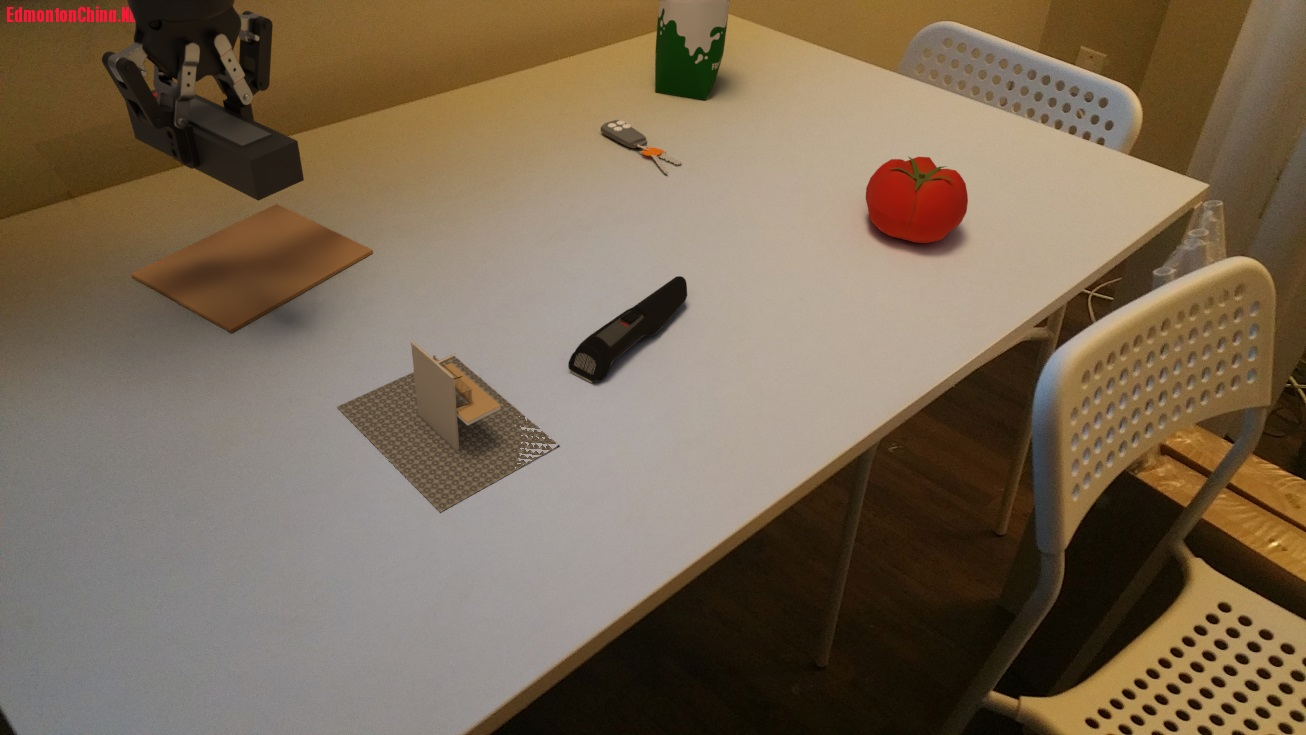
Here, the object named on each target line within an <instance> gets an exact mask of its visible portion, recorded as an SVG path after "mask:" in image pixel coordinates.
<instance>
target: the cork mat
mask: <svg viewBox="0 0 1306 735" xmlns="http://www.w3.org/2000/svg"><path fill="white" fill-rule="evenodd" d="M372 254H374V249H372V248H370V247H368V246H365V245H364V244H361V243H359V242H358V241H355V240H353V239H351V238H349V237H347V236H345V235H343V234H341V233H338V232H336V231H335V230H332V229H330V228H328V227H326V226H324V225H322V224H320V223H317V222H316V221H313V220H312V219H309V218H307V217H305V216H303V215H301V214H299V213H297V212H294V211H292V210H290V209H288V208H286V207H284V206H282V205H280V204H277V203H276V204H274V205H272V206H271V205H270V206H269V207H267V208H265V209H263V210H261V211H258V212H257V213H255V214H253V215H251V216H248V217H246V218H244V219H242V220H240V221H238V222H236V223H234V224H232V225H229V226H227V227H225V228H223V229H221V230H218V231H217V232H215V233H213V234H211V235H208V236H206V237H204V238H202V239H200V240H198V241H196V242H194V243H192V244H190V245H188V246H186V247H184V248H181V249H180V250H177V251H175V252H172V253H171V254H168V255H167V256H164V257H162V258H160V259H158V260H157V261H154V262H152V263H150V264H148V265H145V266H144V267H141V268H139V269H137V270H135V271H133V272H131V273H130V276H131V278H133V279H135V280H137V281H138V282H140V283H142V284H143V285H145V286H148V287H149V288H150V289H153V290H154V291H156V292H157V293H160V294H161V295H162V296H165V297H167V298H168V299H169V300H172V301H174V302H175V303H177V304H178V305H180V306H182V307H184V308H186V309H188V310H190V311H192V312H193V313H195V314H197V315H198V316H200V317H202V318H203V319H205V320H207V321H209V322H210V323H213V324H214V325H216V326H218V327H219V328H222V329H223V330H225V331H226V332H228V333H230V334H233V333H234V332H236V331H238V330H240V329H241V328H243V327H245V326H247V325H248V324H251V323H252V322H254V321H255V320H257V319H259V318H261V317H263V316H264V315H266V314H268V313H270V312H271V311H273V310H275V309H277V308H278V307H281V306H283V304H286V303H288V302H290V301H291V300H293V299H295V298H296V297H298V296H301V295H302V294H303V293H305V292H307V291H309V290H311V289H312V288H314V287H316V286H317V285H319V284H321V283H323V282H325V281H326V280H328V279H330V278H333V276H335V275H337V274H338V273H340V272H342V271H343V270H346V269H348V268H350V267H351V266H353V265H354V264H356V263H358V262H360V261H362V260H363V259H365V258H367V257H369V256H370V255H372Z"/></svg>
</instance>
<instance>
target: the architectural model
mask: <svg viewBox="0 0 1306 735" xmlns="http://www.w3.org/2000/svg"><path fill="white" fill-rule="evenodd" d="M410 346H411V356H412V365H413V372H409V373H408V374H406V375H404V376H401V377H399V378H397V379H395V380H393V381H390V382H389V383H386V384H384V385H382V386H380V387H377V388H375V389H372V390H370V391H368V392H366V393H364V394H362V395H360V396H357V397H355V398H353V399H351V400H348V401H346V402H344V403H342V404H339V405H338V406H336V409H338V410H339V411H340V412H341V413H342V415H344V416H345V417H346V418H347V420H349V421H350V422H351V423H352V425H353V426H354V427H355V428H357V430H358V431H360V433H362V434H363V436H364V437H365V438H366V439H368V441H369V442H370V443H371V444H372V445H373V446H374V447H375V448H376V449H377V450H378V451H379V452H380V453H381V454H382V455H383V456H384V457H385V459H387V460H388V461H389V462H390V463H391V464H392V465H393V466H394V467H395V468H396V469H397V470H398V471H399V472H400V473H401V475H403V476H404V477H405V478H406V479H407V480H408V481H409V483H410V484H412V485H413V487H414V488H416V489H417V490H418V492H420V494H422V496H424V497H425V498H426V500H427V501H428V502H429V503H431V504H432V505H433V507H434V508H435V509H436V510H437V511H438V512H439V513H442V512H444V511H446V510H447V509H450V508H451V507H453V506H455V505H456V504H458V503H460V502H462V501H463V500H465V499H467V498H469V497H471V496H473V495H474V494H476V493H478V492H479V491H481V490H483V489H486V488H488V486H490V485H492V484H494V483H496V482H498V481H499V480H501V479H503V478H505V477H506V476H508V475H511V474H513V473H514V472H516V471H517V470H519V469H521V468H523V467H524V466H523V464H526V465H528V464H530V463H531V462H530V461H528V462H527V463H526V462H525V461H524V460H521V461H519V459H518V458H520V459H530V460H534V461H535V460H537V459H538V458H537V457H534V458H532V457H531V456H529V457H528V458H527V457H526V456H525V455H521V456H520V454H519V453H522V454H532V455H543V456H544V455H546V454H549V453H550V452H549V451H548V452H547V453H546V454H545V453H544V452H543V451H542V452H541V453H540V454H539V453H538V452H537V451H535V452H534V453H533V452H532V451H531V450H529V451H528V452H527V451H526V450H525V448H527V449H542V450H552V451H554V450H556V449H557V448H558V447H555V448H553V449H552V448H551V447H550V446H549V445H548V444H556V443H557V442H556V441H555V440H554V439H552V438H551V439H549V438H548V437H550V436H549V435H547V433H546V432H544V431H543V430H542V431H541V432H538V431H537V430H534V432H533V431H532V430H531V429H530V430H529V431H527V429H525V430H522V429H521V427H526V428H535V429H540V427H539V426H537V425H536V424H535V423H534V422H533V423H532V420H530V419H529V418H528V417H527V421H526V419H525V417H526V415H524V414H523V413H522V412H521V411H520V410H519V409H517V407H515V406H514V405H513V404H512V403H510V402H509V401H508V400H507V399H506V398H504V397H503V396H502V395H501V394H500V393H499V392H498V391H497V390H495V389H494V388H493V387H492V386H491V385H489V384H488V383H487V382H486V381H485V380H484V379H482V378H481V377H480V376H479V375H478V374H476V373H475V371H473V370H472V369H470V368H469V367H468V366H467V365H466V364H464V362H463V361H461V360H460V359H459V358H457V353H452V354H450V355H448V356H445V357H443V358H441V359H439V358H437V357H436V355H435V354H433V355H432V356H431V355H430V354H429V353H428V352H426V351H425V350H424V349H423V348H422V347H421V346H420V345H418V344H417V343H416V342H415V341H414V340H413V341H411V342H410ZM519 416H520V417H519ZM515 425H516V426H515ZM520 426H521V427H520ZM521 435H523V436H521ZM525 435H527V436H528V438H527V437H526V436H525ZM531 436H533V438H532V437H531ZM536 436H537V437H539V439H538V438H537V437H536ZM542 437H545V439H543V438H542ZM521 442H523V443H522V444H521ZM525 442H528V443H529V445H528V446H527V444H526V443H525ZM531 443H535V445H534V447H533V445H532V444H531ZM536 443H542V444H547V446H546V448H545V447H544V446H543V445H542V446H541V447H540V448H539V446H538V445H537V444H536ZM520 448H524V449H522V450H521V449H520ZM517 463H521V464H517ZM515 467H516V468H515Z"/></svg>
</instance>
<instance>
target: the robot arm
mask: <svg viewBox="0 0 1306 735" xmlns="http://www.w3.org/2000/svg"><path fill="white" fill-rule="evenodd" d="M126 1H127V5H128V8H129V10H130V12H131V14H132V17H133V19H134V23H135V29H134V30H135V31H134V34H133V43H132V44H130V45H129V46H127V47H125V48H124V49H122V50H121V51H119V52H118V53H115V52H113V51H106V52H104V53H103V55H102V56H101V63H102V65H103V66H104V68H105V69H106V72H107V74H108V75H109V76H110V78H111V80H112V81H113V83H114V84H115V87H116V88H117V90H118V92H119V93H120V94H121V96H122V98H123V100H124V102H125V101H126V102H125V104H126V103H127V105H128V106H129V108H130V110H131V111H132V113H133V115H134V116H135V118H137V119H139V120H141V121H144V122H146V123H148V124H150V125H151V126H153V127H155V128H157V129H161V128H164V132H165V136H166V140H167V143H168V147H169V151H170V155H171V156H172V157H171V156H170V157H171V158H172V159H173V160H174V161H177V162H179V163H180V164H181V165H183V166H185V167H186V168H188V169H191V170H193V169H194V170H195V168H196V167H198V166H200V160H199V156H198V152H197V148H196V143H195V139H194V135H193V133H194V132H193V127H192V126H191V125H189V124H188V122H189V108H190V101H191V100H192V99H193V98H194V96H195V94H196V83H197V82H199V81H201V80H202V79H204V78H205V77H208V76H209V77H210V76H211V77H212V78H213V79H214V81H215V82H216V84H217V86H218V88H219V89H220V91H221V93H222V94H223V96H224V97H226V98H225V99H222V104H223V107H225V108H227V109H229V110H232V111H234V112H236V113H238V114H240V115H242V116H245V117H247V118H249V119H251V120H253V121H255V116H254V113H253V107H252V102H253V100H254V96H255V95H256V94H258V93H259V92H260V91H261V92H265V91H267V90H268V89H269V87H270V81H271V80H270V79H271V65H272V64H271V62H272V42H273V29H274V28H273V27H274V26H273V22H272V20H271V19H270V18H268V17H265V16H263V15H260V14H258V13H255V12H253V11H250V10H245V11H243V12H242V14H239V13H238V12H237V11H236V9H235V7H234V5H235V1H236V0H126ZM238 38H239V55H238V58H237V57H236V55H235V52H234V49H235V46H236V43H237V41H238ZM146 59H147V60H148V61H150V63H152V64H153V80H152V83H153V88H154V90H155V89H156V91H157V99H155V97H154V95H153V93H152V92H151V91H152V89H151V88H150V86H149V85H148V83H147V81H146V80H145V78H146V77H147V76H148V72H147V70H146V69H147V68H146V66H145V62H146ZM174 80H176V82H175V81H174Z"/></svg>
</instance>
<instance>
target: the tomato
mask: <svg viewBox="0 0 1306 735" xmlns="http://www.w3.org/2000/svg"><path fill="white" fill-rule="evenodd" d="M947 167H948V166H947V165H946V166H944V165H943V166H937V165H936V164H935V162H934V161H933V160H932V159H931V157H930V156H915V157H913V158H911V157H910V156H908V159H907V160H905V159H902V158H890V159H889V160H888V161H886V162H884V163H883V164H881V165H880V166H879V167H878V168H877V169H876V170H875V172H873V174H872V175H871V177H870V178H869V180H868V182H867V185H866V188H865V202H866V206H867V212H868V216H869V220H870V222H871V223H872V224H873V225H874V226H875V227H876V228H877V229H878V230H879V231H881V232H882V233H883V234H886V235H888V236H889V237H893V238H897V239H900V240H905V241H909V242H912V243H919V244H928V243H933V242H939V241H942V240H943V239H944V238H945V237H946V236H947V235H948V234H949V233H950V232H951V231H953V230H954V229H956V228H957V227H958V226H959V225H960V224H961V223H962V222H963V221H964V218H965V217H966V214H967V211H968V202H969V197H968V196H969V195H968V189H967V184H966V182H965V180H964V178H963V177H962V175H961V174H960V173H959V172H958V171H957V170H955V169H952V168H947Z"/></svg>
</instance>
